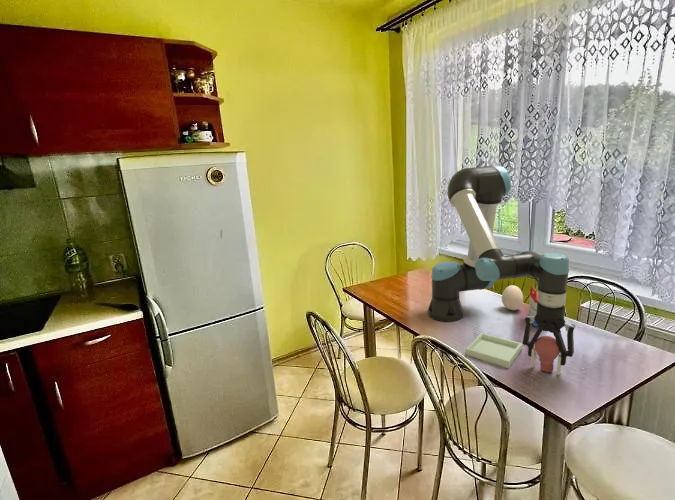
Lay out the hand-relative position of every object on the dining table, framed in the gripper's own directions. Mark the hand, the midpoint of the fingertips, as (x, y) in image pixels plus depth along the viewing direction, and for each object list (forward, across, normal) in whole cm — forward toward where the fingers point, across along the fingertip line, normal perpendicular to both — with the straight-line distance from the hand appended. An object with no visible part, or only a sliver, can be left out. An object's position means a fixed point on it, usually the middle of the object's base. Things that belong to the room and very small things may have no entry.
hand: (545, 369), depth 120 cm
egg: (+1, -23, +42) cm, 48 cm away
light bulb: (+1, 0, 0) cm, 1 cm away
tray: (+1, -17, +2) cm, 17 cm away
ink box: (+1, -11, +35) cm, 37 cm away
